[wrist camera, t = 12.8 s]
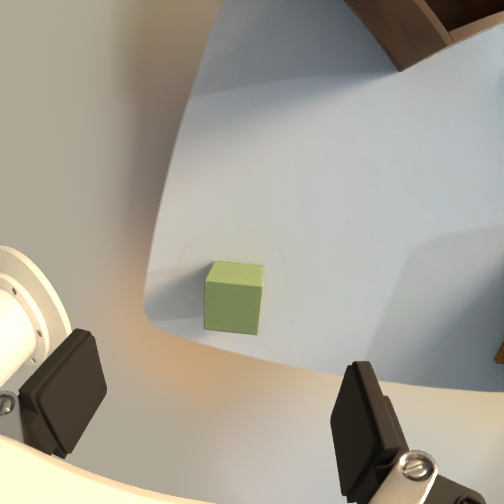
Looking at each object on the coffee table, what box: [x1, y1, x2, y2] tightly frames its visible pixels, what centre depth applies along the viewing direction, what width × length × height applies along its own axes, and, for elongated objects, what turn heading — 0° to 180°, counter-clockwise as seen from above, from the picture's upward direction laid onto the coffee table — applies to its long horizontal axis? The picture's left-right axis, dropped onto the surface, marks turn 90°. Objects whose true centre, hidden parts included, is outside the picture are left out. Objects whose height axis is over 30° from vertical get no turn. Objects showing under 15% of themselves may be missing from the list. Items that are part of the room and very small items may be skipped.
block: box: [204, 261, 264, 335], centre depth 24 cm, size 4×4×4 cm
